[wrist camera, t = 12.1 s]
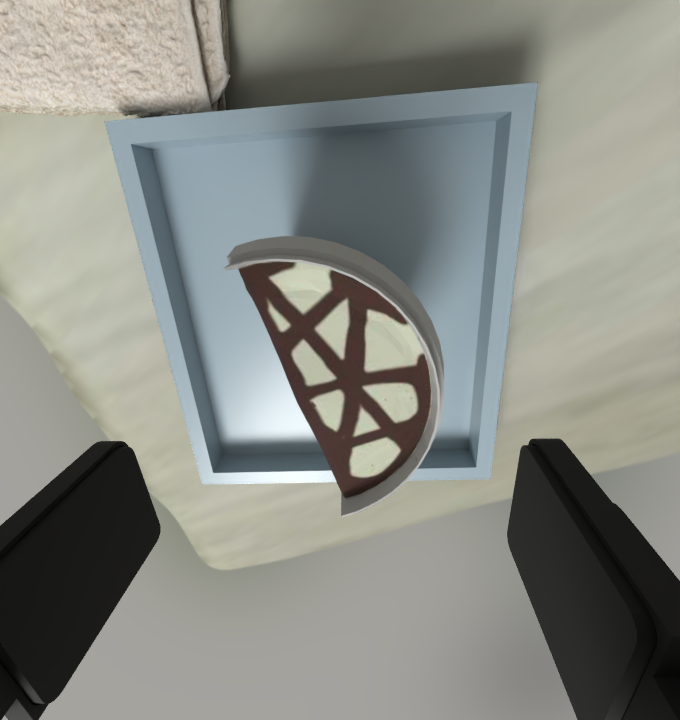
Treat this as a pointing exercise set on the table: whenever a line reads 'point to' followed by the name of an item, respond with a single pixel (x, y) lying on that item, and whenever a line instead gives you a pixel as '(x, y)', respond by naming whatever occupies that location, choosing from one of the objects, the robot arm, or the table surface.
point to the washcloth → (113, 57)
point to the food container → (350, 358)
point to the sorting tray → (337, 224)
